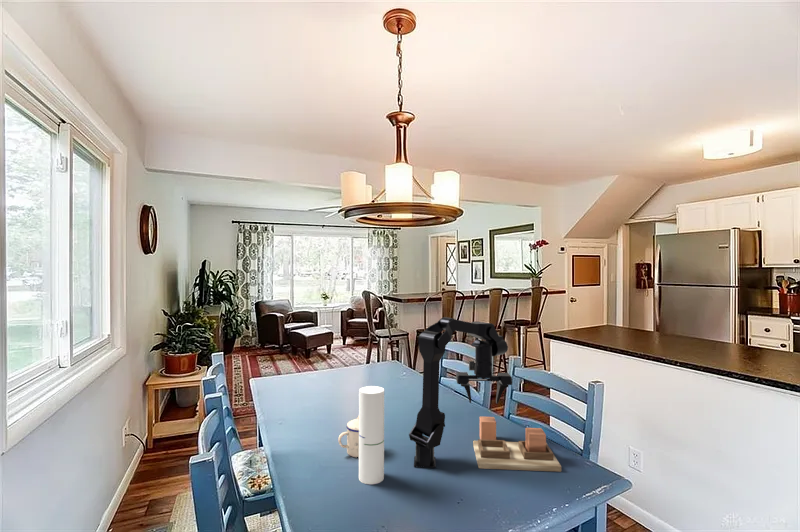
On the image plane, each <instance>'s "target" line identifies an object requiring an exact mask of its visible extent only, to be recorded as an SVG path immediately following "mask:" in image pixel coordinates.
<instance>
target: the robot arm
mask: <svg viewBox="0 0 800 532" xmlns="http://www.w3.org/2000/svg"><path fill="white" fill-rule="evenodd" d="M443 331H444V332H443ZM442 332H443V333H442ZM454 332H458V333H459V332H461V333H466V334H468V335H470V336H472V337H473V338H476V339H475V340H474V341H473V342H472V343H471V347H475V348H474V349H475V357H474V358H475V359H474V360H475V361H473V360H471V361H468V370H469V371H471V372H472V371H473V373H474V375H473V374H472V375H470V374H469V373H468V372H467V371H466V372H465V371H464V372H463V371H462V372H461V371H458V372H457V373H456V374H455V380H456V384H457V385H460V387H463V388H464V390H465V392H466V394H467V397H468V398H467V399H468V400H469V401H468V402H469V404H472V395H471V385H470V382H496V396H495V404H499V402H500V400H501V396H502V395H503V393H504V391H505V390H506V388H509V386H512V385H513V376H511V374H510V373H509V372H498V373H497V375H493V357H497V356H502V355H505V354H506V353H507V352H508V349H509V346H508V343H507V342H506V340H505V339H504V336H503V335H500V334H498V331H497V329H496V327H495V325H494V323H490V322H484V321H471V322H468V321H465V320H459V319H455V318H453V317H447V316H444V317H443V316H442V317H441V318H440V319H439V320H438V321H437V322H435V323H433V324H431V325H429V326H428V327H426V329H425V330H423V331H422V332H421V333H420V334H419V336H418V340H417V341H418V342H417V343H418V351H419V353H420V355H421V356H420V357H422V359H423V364H422V365H423V369H422V370H423V372H422V401H421V403H422V405H421V408H420V409H419V410H418V413H417V415H416V421H415V424H414V425H413V427H412V428H411V430H410V431H409V432H408V436H409V437H408V438H409V440H410V441H412V442H414V443H415V455H414V458H413V459H414V460H413V467H414V468H430V469H431V468H432V469H435V468H436V467H437V465H436V456H435V448H437V447H439V446H440V445H441V442H442V438H443V433H444V429H445V428H446V422H445V419H446V414H445V412H442V411H440V408H439V401H440V400H439V397H440V396H439V395H440V394H439V392H440V363H441V359H442V358H443V356H444V355H445V353H446V347H447V345H448V343H449V342H451V340H452V337H453V333H454Z"/></svg>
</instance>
